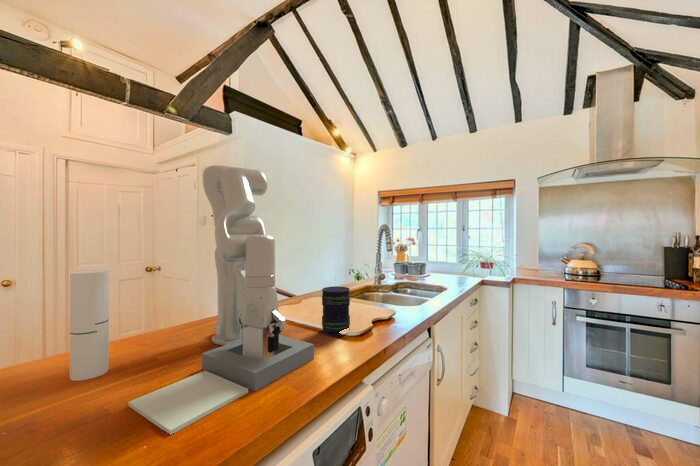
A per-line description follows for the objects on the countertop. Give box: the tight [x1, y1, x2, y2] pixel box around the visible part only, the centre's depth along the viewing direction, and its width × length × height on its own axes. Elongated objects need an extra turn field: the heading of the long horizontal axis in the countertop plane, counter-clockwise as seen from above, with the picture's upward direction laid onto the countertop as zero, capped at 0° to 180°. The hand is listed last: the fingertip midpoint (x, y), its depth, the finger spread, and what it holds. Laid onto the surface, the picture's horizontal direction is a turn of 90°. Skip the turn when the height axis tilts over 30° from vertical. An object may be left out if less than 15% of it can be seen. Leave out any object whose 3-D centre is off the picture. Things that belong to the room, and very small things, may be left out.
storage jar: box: [321, 286, 351, 337], centre depth 104 cm, size 10×10×15 cm
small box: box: [243, 326, 276, 362], centre depth 78 cm, size 8×6×10 cm
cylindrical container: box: [69, 269, 110, 382], centre depth 72 cm, size 7×7×25 cm
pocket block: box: [201, 334, 315, 392], centre depth 78 cm, size 20×20×4 cm
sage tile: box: [128, 370, 249, 436], centre depth 61 cm, size 16×16×1 cm
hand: (260, 347), depth 77 cm, fingers open, 9 cm apart
